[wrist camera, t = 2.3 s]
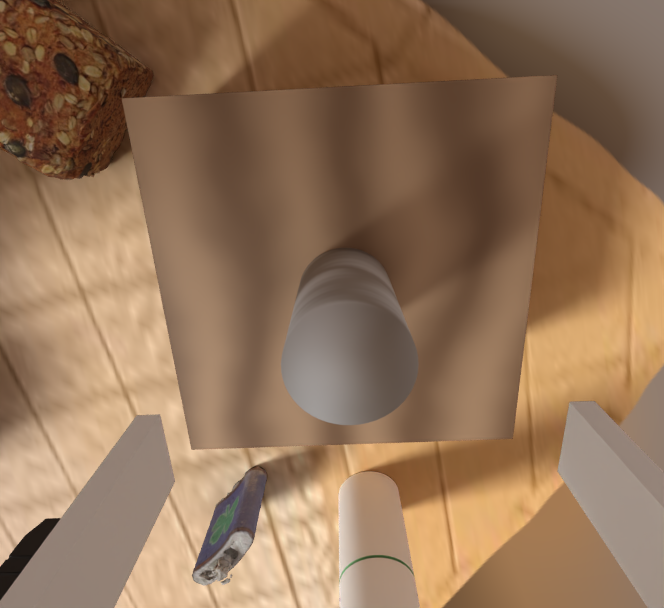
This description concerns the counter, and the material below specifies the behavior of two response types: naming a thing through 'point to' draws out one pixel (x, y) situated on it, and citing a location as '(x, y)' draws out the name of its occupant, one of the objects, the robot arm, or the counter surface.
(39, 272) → the counter surface
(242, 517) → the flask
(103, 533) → the robot arm
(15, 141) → the bread
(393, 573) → the cylindrical container
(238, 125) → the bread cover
